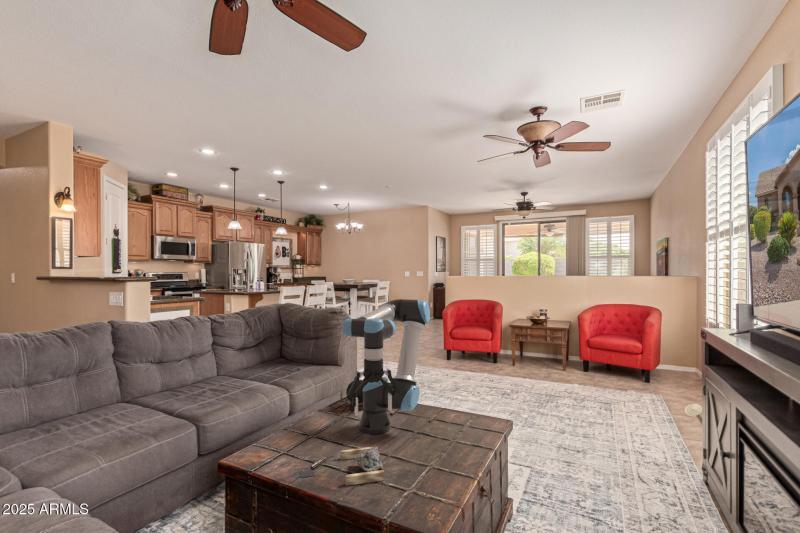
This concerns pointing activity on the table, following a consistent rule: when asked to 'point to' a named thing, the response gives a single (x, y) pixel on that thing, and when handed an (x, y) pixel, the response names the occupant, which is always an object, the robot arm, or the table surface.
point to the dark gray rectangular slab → (307, 473)
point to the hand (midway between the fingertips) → (373, 412)
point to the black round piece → (360, 397)
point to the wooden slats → (360, 477)
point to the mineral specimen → (369, 459)
